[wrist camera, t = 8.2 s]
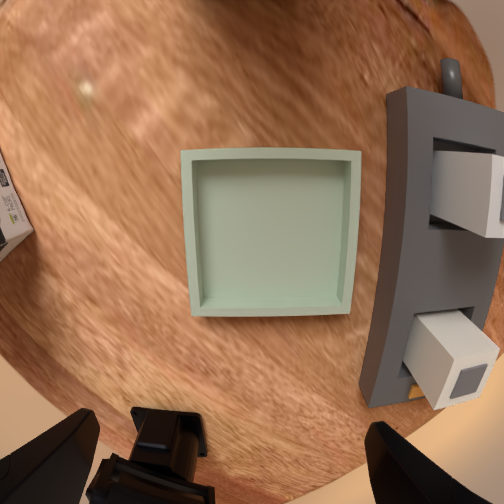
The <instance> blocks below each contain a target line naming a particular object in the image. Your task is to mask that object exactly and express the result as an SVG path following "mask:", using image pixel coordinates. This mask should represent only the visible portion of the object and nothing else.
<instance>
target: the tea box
mask: <svg viewBox="0 0 504 504" xmlns="http://www.w3.org/2000/svg"><path fill="white" fill-rule="evenodd" d="M33 231H34V229H33V228H32V226H31V224H30V223H29V221H28V219H27V217H26V215H25V212H24V209H23V207H22V205H21V202H20V200H19V198H18V196H17V194H16V192H15V189H14V187H13V184H12V182H11V179H10V176H9V173H8V171H7V168H6V165H5V163H4V161H3V158H2V155H1V153H0V262H1V261H2V260H3V259H4V258H5V257H6V256H7V255H8V254H9V253H10V252H11V251H12V250H13V249H14V248H15V247H16V246H17V245H18V244H19V243H21V242H22V241H23V240H24V239H25V238H26V237H27V236H28V235H29V234H30V233H32V232H33Z"/></svg>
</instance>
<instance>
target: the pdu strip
mask: <svg viewBox="0 0 504 504" xmlns="http://www.w3.org/2000/svg"><path fill="white" fill-rule="evenodd" d="M440 64H441V73H442V84H443V94H440V93H435V92H431V91H427V90H422V89H417V88H413V87H407V86H406V87H403V88H401V89H398V90H396V91H393V92H391V93H388V94H386V104H387V177H386V199H385V214H384V227H383V238H382V248H381V258H380V266H379V274H378V282H377V289H376V296H375V302H374V309H373V315H372V321H371V326H370V332H369V337H368V343H367V348H366V353H365V357H364V362H363V367H362V371H361V376H360V380H359V386H360V389H361V391H362V394H363V396H364V399H365V401H366V404H367V406H368V408H372V407H379V406H385V405H391V404H397V403H402V402H407V401H412V400H417V399H422V398H426V397H425V395H424V393H423V392H422V390H421V389H420V387H419V385H418V384H417V382H416V380H415V379H414V377H413V376H412V374H411V372H410V371H409V369H408V368H407V366H406V365H405V363H404V361H403V357H404V353H405V350H406V346H407V342H408V338H409V334H410V330H411V326H412V321H413V317H414V313H420V312H430V311H439V310H448V309H458V310H459V311H460V312H461V313H462V314H464V315H465V316H466V317H467V318H468V319H469V320H470V321H471V322H472V323H473V324H475V325H476V326H477V327H478V328H479V329H480V330H481V331H483V327H484V324H485V321H486V318H487V314H488V311H489V307H490V304H491V300H492V296H493V292H494V288H495V284H496V280H497V276H498V271H499V266H500V261H501V256H502V251H503V245H504V238H485V237H483V236H481V235H478V234H476V233H474V232H472V231H469V230H467V229H465V228H463V227H460V226H458V225H456V224H453V223H451V222H449V221H446V220H444V219H441V218H439V217H436V216H434V215H432V214H430V205H431V192H432V173H433V151H455V152H471V153H484V154H494V155H498V156H502V157H504V113H503V112H501V111H498V110H495V109H492V108H489V107H486V106H483V105H479V104H476V103H473V102H469V101H466V100H463V94H462V82H461V72H460V64H459V61H457V60H455V59H450V58H445V59H441V60H440Z"/></svg>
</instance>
